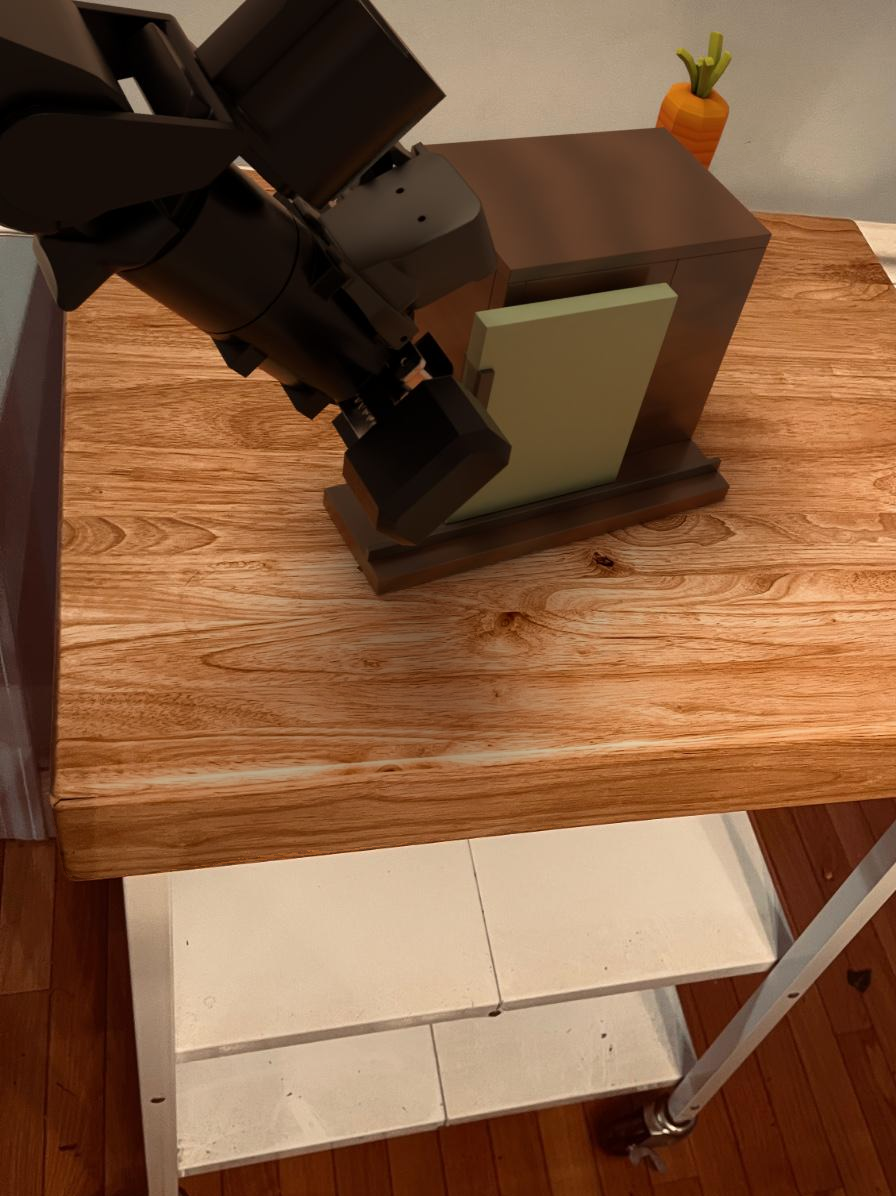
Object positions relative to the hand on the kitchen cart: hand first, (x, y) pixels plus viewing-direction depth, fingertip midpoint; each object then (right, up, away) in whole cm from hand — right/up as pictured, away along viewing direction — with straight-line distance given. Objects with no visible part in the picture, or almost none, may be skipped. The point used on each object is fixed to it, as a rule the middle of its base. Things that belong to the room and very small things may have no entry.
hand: (454, 427), depth 59 cm
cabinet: (+2, 0, +11) cm, 11 cm away
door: (+3, -3, +8) cm, 9 cm away
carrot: (+11, +19, +32) cm, 39 cm away
